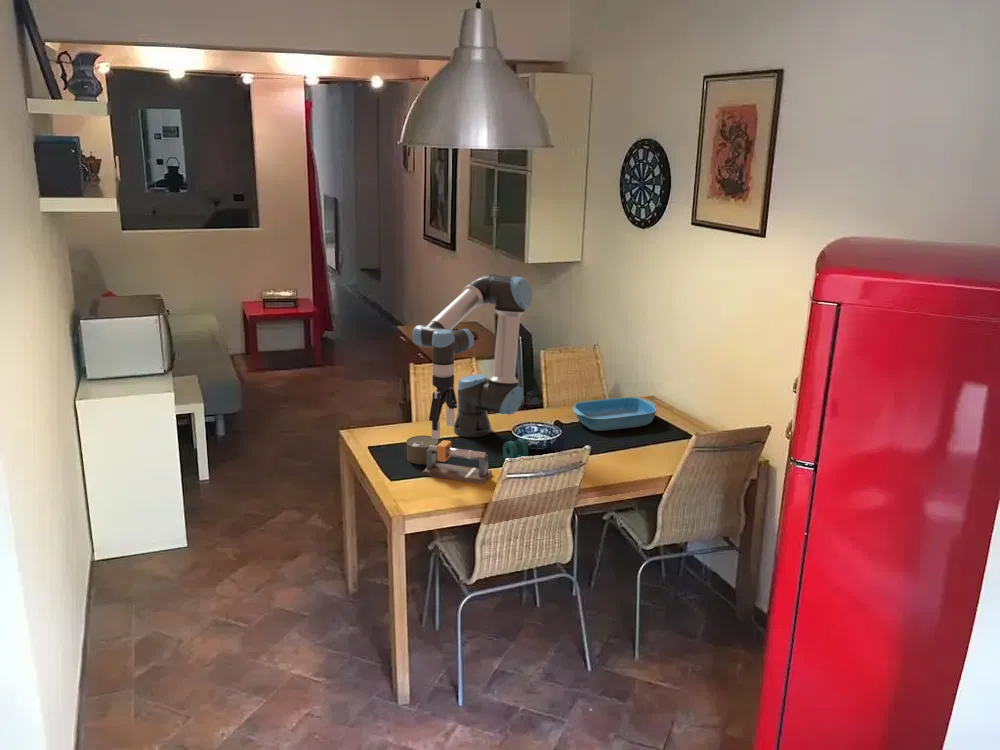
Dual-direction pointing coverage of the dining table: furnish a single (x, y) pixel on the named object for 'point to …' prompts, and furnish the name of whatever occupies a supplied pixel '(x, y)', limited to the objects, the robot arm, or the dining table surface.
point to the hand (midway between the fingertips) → (443, 431)
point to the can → (419, 448)
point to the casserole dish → (615, 413)
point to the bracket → (515, 449)
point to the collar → (443, 451)
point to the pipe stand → (458, 471)
